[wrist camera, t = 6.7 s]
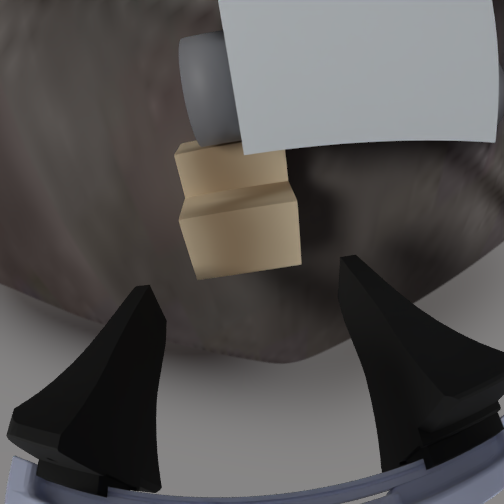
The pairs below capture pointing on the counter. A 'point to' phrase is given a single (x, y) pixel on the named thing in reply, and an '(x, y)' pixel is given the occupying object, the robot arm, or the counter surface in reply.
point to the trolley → (344, 73)
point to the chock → (237, 210)
